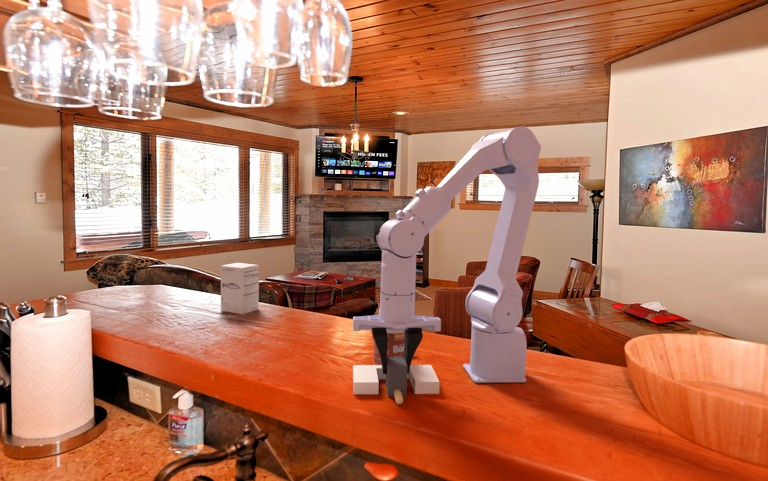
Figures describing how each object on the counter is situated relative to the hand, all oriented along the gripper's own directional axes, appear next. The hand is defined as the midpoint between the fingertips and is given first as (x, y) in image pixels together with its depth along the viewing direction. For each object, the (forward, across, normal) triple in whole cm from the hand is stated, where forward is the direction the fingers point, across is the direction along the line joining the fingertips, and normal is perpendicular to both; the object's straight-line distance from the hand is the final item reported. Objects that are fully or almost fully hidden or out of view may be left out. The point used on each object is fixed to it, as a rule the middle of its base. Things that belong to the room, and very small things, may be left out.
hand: (395, 371), depth 76 cm
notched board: (+3, 0, +1) cm, 3 cm away
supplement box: (+3, -37, +51) cm, 63 cm away
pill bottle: (+3, 0, +9) cm, 9 cm away
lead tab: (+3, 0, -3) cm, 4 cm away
